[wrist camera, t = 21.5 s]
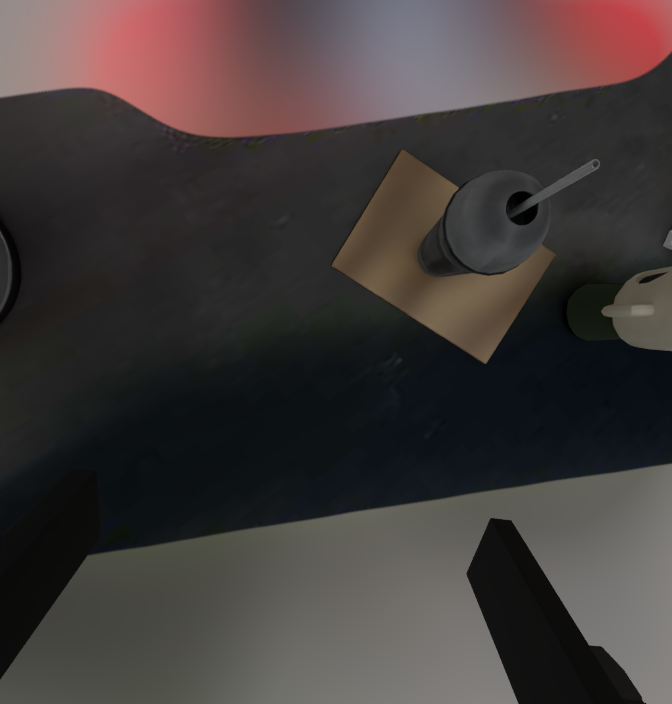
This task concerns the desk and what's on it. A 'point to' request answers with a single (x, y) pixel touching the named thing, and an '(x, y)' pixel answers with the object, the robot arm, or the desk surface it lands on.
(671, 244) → the character figure
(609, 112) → the desk surface
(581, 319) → the character mug
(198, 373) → the desk surface
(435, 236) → the beverage cup
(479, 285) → the cork mat
